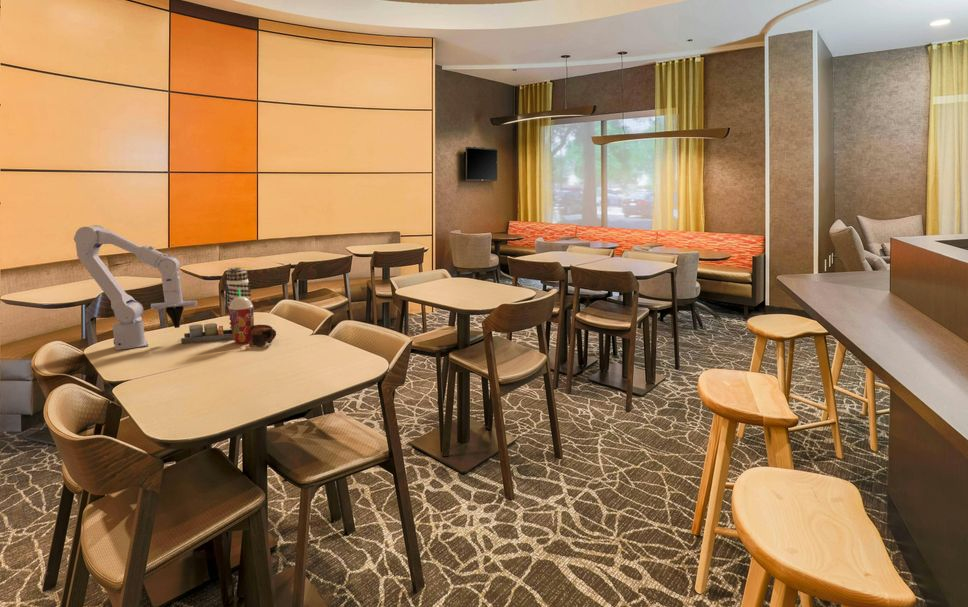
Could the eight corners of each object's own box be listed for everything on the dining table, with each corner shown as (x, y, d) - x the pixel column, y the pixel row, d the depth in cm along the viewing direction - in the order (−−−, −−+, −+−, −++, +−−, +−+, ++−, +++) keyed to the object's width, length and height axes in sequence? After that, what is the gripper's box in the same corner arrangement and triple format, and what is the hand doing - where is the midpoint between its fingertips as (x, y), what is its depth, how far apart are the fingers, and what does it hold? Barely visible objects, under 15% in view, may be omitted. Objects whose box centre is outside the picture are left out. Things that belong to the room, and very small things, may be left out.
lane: (181, 345, 194) (180, 333, 193) (185, 339, 201) (183, 328, 200) (235, 340, 200) (234, 328, 199) (237, 335, 207) (235, 324, 207)
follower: (218, 339, 199) (217, 329, 198) (220, 335, 204) (219, 325, 204) (222, 339, 199) (221, 329, 199) (223, 335, 205) (222, 325, 204)
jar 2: (206, 340, 198) (204, 326, 197) (204, 338, 201) (202, 324, 200) (219, 339, 200) (218, 325, 199) (217, 336, 204) (215, 322, 203)
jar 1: (191, 341, 196) (189, 327, 195) (189, 339, 200) (188, 325, 199) (204, 340, 199) (203, 326, 198) (202, 337, 202) (201, 323, 201)
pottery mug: (240, 348, 192) (242, 326, 194) (261, 353, 200) (262, 332, 203) (266, 342, 187) (268, 320, 190) (286, 347, 196) (287, 326, 198)
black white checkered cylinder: (259, 329, 217) (254, 267, 212) (238, 334, 209) (232, 270, 204) (245, 326, 221) (240, 266, 216) (225, 331, 214) (218, 268, 209)
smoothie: (261, 340, 200) (256, 287, 196) (249, 346, 192) (244, 291, 188) (239, 339, 201) (234, 287, 197) (227, 345, 193) (221, 291, 189)
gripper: (146, 294, 187) (152, 331, 190) (193, 290, 192) (198, 327, 195) (151, 290, 193) (156, 327, 196) (196, 287, 198) (200, 323, 201)
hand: (177, 327), depth 196 cm, fingers closed
